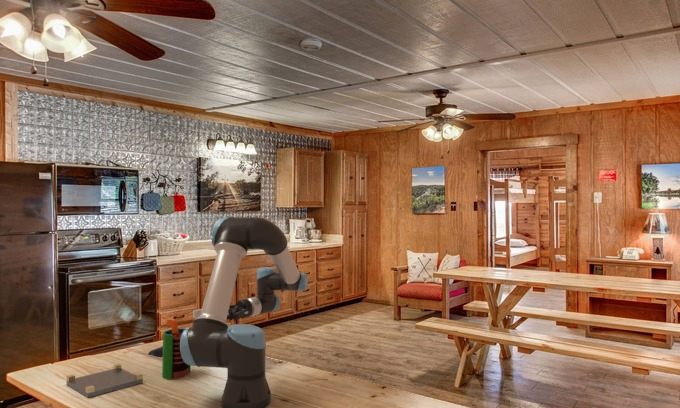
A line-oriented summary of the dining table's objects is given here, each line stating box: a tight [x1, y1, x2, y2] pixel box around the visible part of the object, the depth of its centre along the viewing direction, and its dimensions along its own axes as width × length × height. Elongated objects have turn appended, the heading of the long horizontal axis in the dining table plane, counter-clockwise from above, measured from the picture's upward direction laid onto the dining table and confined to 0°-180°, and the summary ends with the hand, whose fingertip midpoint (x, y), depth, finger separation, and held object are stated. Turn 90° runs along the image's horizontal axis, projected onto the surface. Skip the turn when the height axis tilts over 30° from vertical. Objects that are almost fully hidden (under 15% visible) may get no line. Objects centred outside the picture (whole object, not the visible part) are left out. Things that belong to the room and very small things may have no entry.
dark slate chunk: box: [147, 346, 163, 358], centre depth 208 cm, size 15×22×5 cm
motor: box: [161, 318, 191, 380], centre depth 176 cm, size 10×9×20 cm
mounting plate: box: [66, 363, 143, 399], centre depth 167 cm, size 18×18×3 cm
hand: (203, 316), depth 185 cm, fingers open, 13 cm apart
